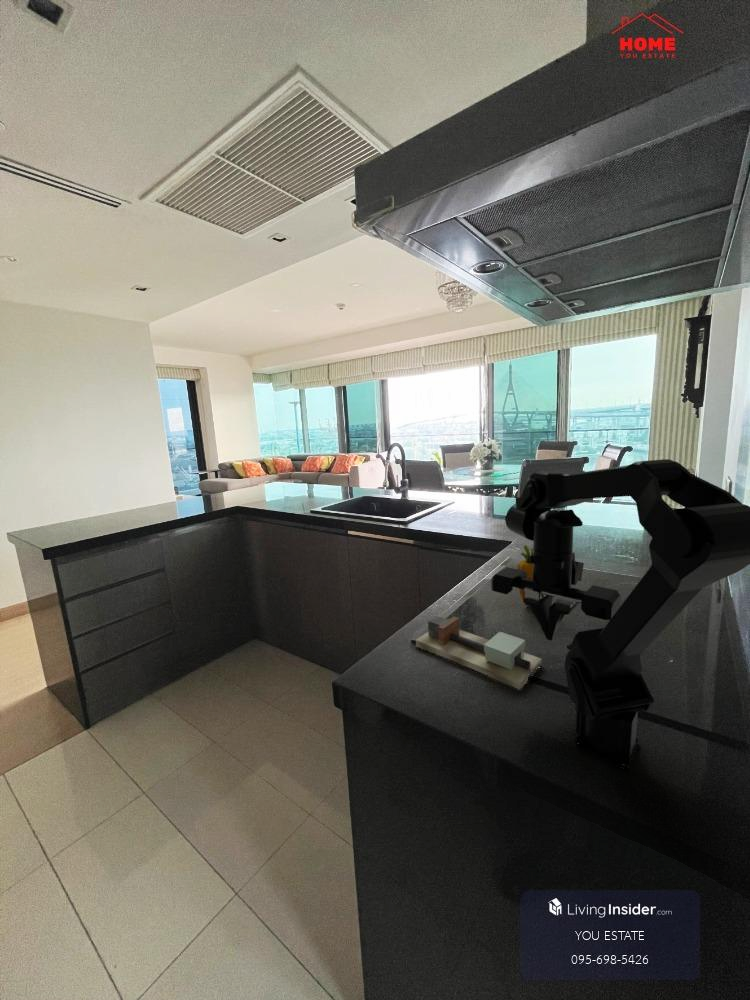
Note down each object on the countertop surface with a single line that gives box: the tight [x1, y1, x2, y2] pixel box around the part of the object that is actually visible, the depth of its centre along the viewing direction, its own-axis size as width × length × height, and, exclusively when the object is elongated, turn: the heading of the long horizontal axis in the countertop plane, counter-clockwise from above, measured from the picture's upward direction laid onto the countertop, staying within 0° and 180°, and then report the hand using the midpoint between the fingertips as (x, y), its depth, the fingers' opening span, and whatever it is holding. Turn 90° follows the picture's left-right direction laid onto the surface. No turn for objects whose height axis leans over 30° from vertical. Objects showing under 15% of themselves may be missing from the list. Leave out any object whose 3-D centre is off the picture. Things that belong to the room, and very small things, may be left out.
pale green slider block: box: [484, 631, 526, 670], centre depth 75 cm, size 5×6×3 cm
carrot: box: [516, 544, 534, 607], centre depth 97 cm, size 5×5×15 cm
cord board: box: [415, 615, 543, 690], centre depth 79 cm, size 22×9×5 cm, turn 46°
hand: (550, 639), depth 69 cm, fingers closed
